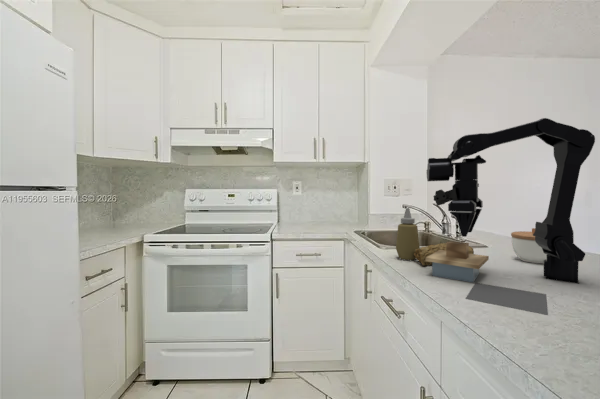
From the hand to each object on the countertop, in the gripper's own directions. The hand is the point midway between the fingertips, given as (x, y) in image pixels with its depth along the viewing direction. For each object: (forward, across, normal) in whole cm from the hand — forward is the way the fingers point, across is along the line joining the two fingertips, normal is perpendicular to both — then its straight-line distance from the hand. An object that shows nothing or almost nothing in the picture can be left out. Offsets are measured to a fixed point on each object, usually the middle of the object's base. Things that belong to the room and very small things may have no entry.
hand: (466, 234), depth 85 cm
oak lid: (+7, +4, -2) cm, 8 cm away
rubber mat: (+12, +17, +10) cm, 23 cm away
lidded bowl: (+12, -30, +16) cm, 36 cm away
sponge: (+12, -11, -8) cm, 18 cm away
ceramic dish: (+12, +4, -2) cm, 12 cm away
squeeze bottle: (+12, -10, -20) cm, 25 cm away
